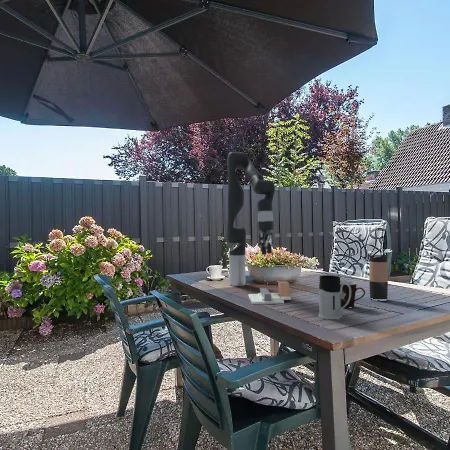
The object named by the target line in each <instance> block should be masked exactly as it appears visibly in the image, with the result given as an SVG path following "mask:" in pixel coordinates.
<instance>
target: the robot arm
mask: <svg viewBox="0 0 450 450" xmlns="http://www.w3.org/2000/svg"><path fill="white" fill-rule="evenodd" d="M226 165H227V181H228V182H227V219H226V221H227V222H226V233H225V234H226V235H225V236H226V237H225V238H226V242H227V243H228V244H237V246H235V247H234V248H233V247H232V248H231V249H229V252H228V258H229V259H228V260H229V261H228V263H229V266H228V267H229V268H228V269H229V271H228V272H229V274H228V275H229V286H232V287H238V286H239V287H243V286H245V285H246V242H247V241H246V239H247V231H246V228H245V227H243V226H234V224H235V221H236V218H237V216H238V215H239V213H240V212H241V210H242V209H243V207H244V203H245V192H244V190H243V187H242V185H241V184H240V182H239V180H238V177H237V170H245V175H244V176H245V179H247V181H248V182H249V183H250V185H251V187H252V190H253V192H254V193H255V194H258V195H264V198H261V199H259V200H258V201H257V229H258V231H259V233H258V242H259V244H258V245H259V246H260V247H261V255H262V256H263V255H267V254H272V253H273V250H272V249H273V248H272V247H273V244H274V236H273V232H271V231H274V230H275V229H274V214H273V200H274V195H275V191H276V186H275V185H276V184H275V183H274V181H272V180H269V179H268V180H267V179H264V176H263V175H262V173H260V171H258V169H257V168H256V166H254V163H253V161H252V160H251V159H250V156H248V154H246V152H241V151H240V152H239V151H230V152H229V153H228V154H227V161H226Z"/></svg>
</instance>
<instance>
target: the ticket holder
mask: <svg viewBox="0 0 450 450" xmlns="http://www.w3.org/2000/svg"><path fill="white" fill-rule="evenodd" d="M267 288H268V287H260V288H259V292H257V293H248V295H247V296H248V298H249V300H250V303H251V304H252V305H267V304H268V305H269V304H270V305H271V304H272V305H273V304H274V305H275V304H285V300H282V298H281V297H280V296H279V294H278V292H270V290H269V289H267Z"/></svg>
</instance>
